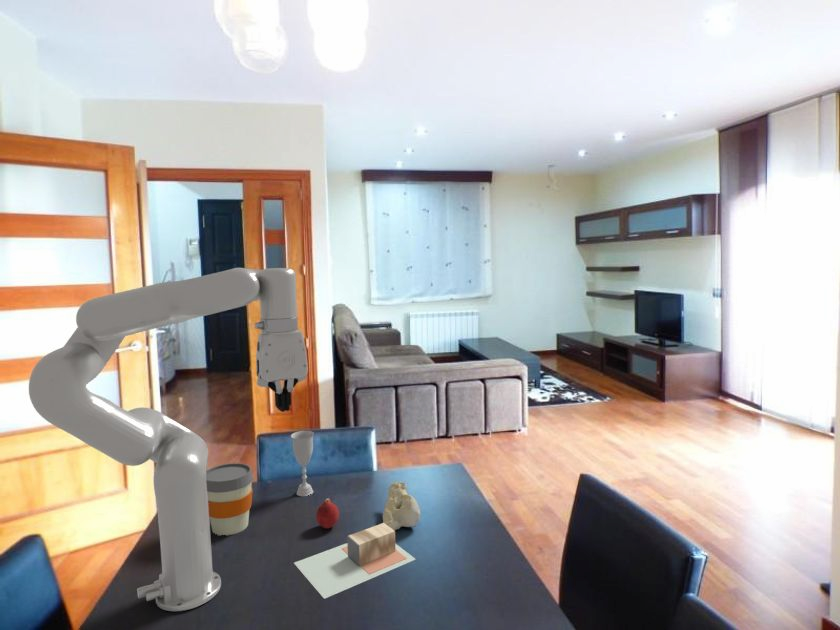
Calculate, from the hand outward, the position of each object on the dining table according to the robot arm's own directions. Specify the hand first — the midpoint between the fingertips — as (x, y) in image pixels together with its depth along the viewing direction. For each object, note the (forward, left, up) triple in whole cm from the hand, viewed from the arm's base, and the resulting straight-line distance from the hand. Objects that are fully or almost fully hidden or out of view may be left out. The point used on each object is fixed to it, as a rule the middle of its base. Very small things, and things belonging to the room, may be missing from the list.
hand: (283, 409), depth 111 cm
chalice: (+19, +36, -37) cm, 55 cm away
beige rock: (+31, +4, -37) cm, 49 cm away
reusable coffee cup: (-5, +29, -37) cm, 48 cm away
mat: (+13, -6, -37) cm, 40 cm away
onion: (+15, +12, -37) cm, 42 cm away
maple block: (+12, -6, -34) cm, 37 cm away
